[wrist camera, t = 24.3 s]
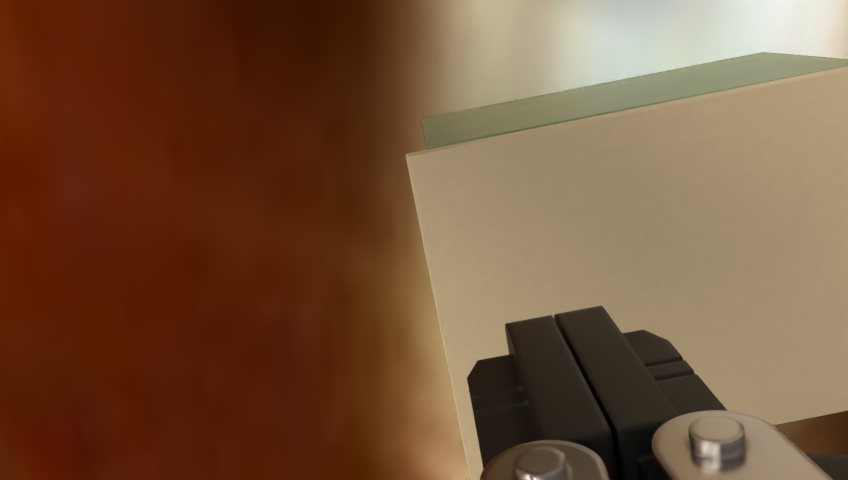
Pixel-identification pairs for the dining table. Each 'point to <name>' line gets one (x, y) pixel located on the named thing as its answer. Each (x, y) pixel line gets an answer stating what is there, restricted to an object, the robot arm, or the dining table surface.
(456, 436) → the dining table surface
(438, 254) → the chest lid
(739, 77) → the chest
